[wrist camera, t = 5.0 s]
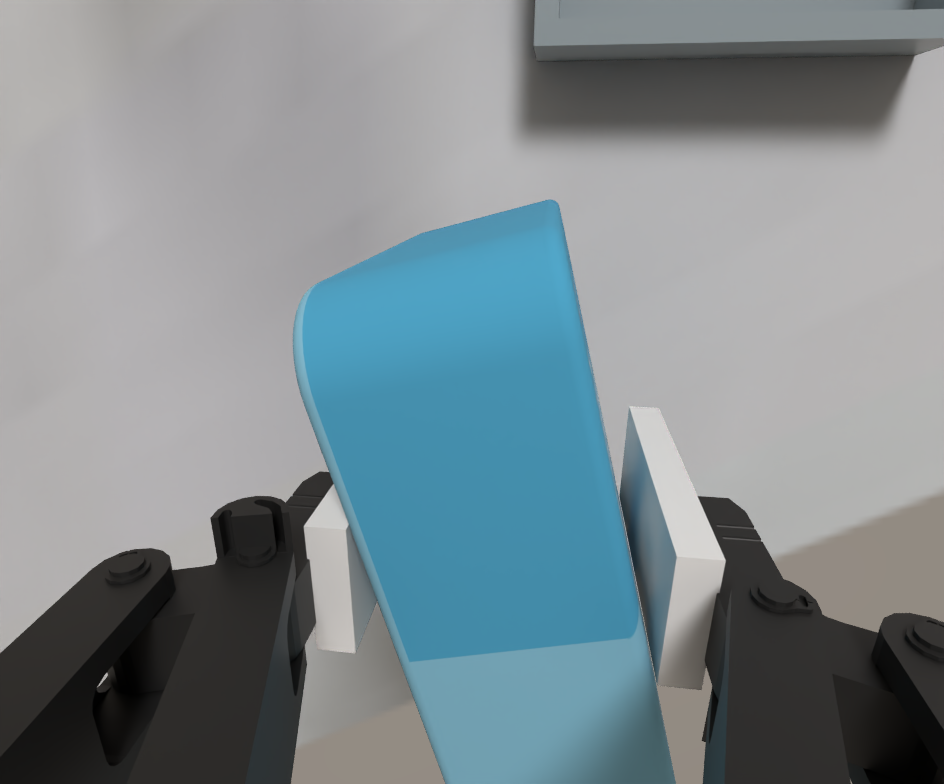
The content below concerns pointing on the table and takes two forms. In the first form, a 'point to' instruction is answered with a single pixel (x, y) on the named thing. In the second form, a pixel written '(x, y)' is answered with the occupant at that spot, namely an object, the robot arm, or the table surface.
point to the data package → (487, 500)
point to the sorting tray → (734, 28)
